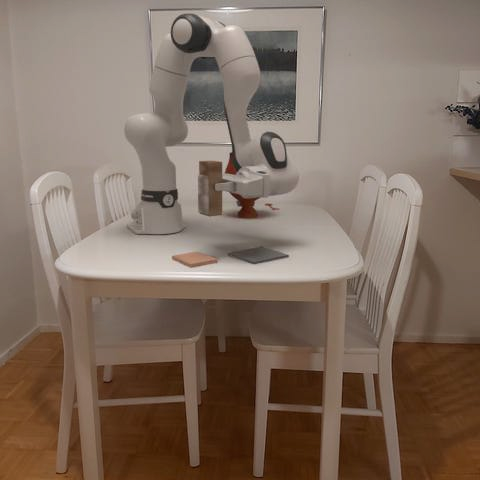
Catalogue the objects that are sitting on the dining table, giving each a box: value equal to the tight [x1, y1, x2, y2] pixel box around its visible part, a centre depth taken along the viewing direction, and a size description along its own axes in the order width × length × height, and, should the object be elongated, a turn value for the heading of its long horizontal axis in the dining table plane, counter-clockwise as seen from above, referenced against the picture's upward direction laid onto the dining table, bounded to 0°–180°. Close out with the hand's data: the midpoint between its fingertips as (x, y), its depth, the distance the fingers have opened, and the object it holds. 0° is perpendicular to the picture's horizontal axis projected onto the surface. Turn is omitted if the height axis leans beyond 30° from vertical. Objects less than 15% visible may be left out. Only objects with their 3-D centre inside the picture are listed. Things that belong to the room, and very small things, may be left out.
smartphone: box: [236, 200, 255, 208], centre depth 226 cm, size 8×1×15 cm
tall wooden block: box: [197, 160, 223, 218], centre depth 130 cm, size 5×5×14 cm
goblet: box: [224, 151, 261, 219], centre depth 192 cm, size 19×19×25 cm
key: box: [264, 203, 280, 211], centre depth 216 cm, size 6×1×15 cm
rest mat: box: [227, 245, 290, 265], centre depth 136 cm, size 12×12×1 cm
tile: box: [171, 251, 218, 269], centre depth 131 cm, size 10×2×8 cm
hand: (207, 185), depth 130 cm, fingers closed on tall wooden block, 5 cm apart
